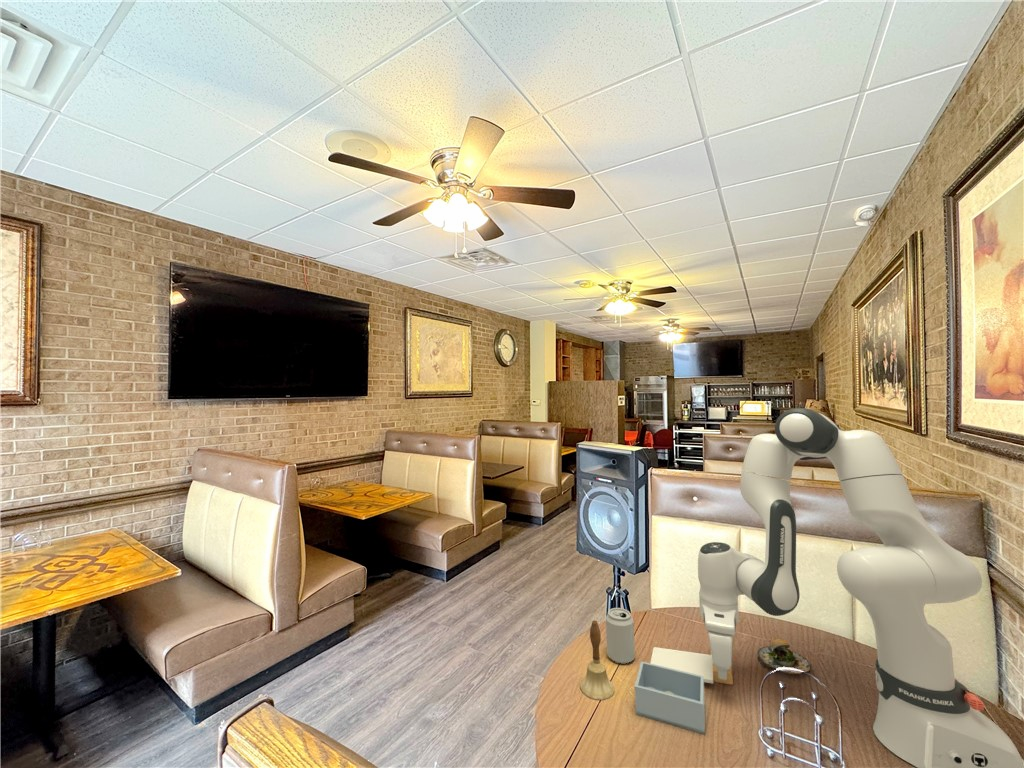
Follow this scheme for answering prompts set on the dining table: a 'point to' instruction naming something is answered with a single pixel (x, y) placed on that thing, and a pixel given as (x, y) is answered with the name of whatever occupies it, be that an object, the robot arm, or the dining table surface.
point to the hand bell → (596, 671)
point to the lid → (689, 664)
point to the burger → (782, 657)
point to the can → (620, 635)
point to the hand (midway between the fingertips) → (721, 666)
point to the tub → (671, 696)
